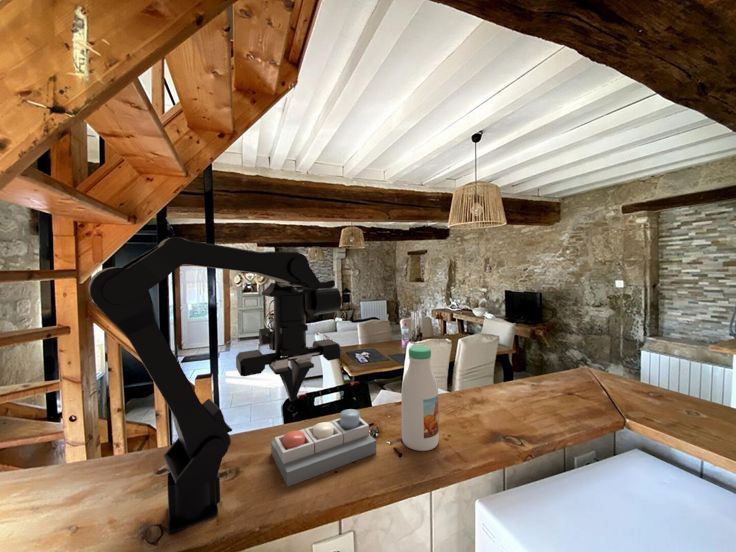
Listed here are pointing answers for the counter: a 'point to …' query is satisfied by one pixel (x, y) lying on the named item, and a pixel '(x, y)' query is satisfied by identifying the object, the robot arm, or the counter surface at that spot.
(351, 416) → the button blue
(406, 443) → the milk bottle
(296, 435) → the button red
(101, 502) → the counter surface
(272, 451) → the console
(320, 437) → the button ivory
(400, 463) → the counter surface
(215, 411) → the robot arm
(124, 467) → the counter surface
